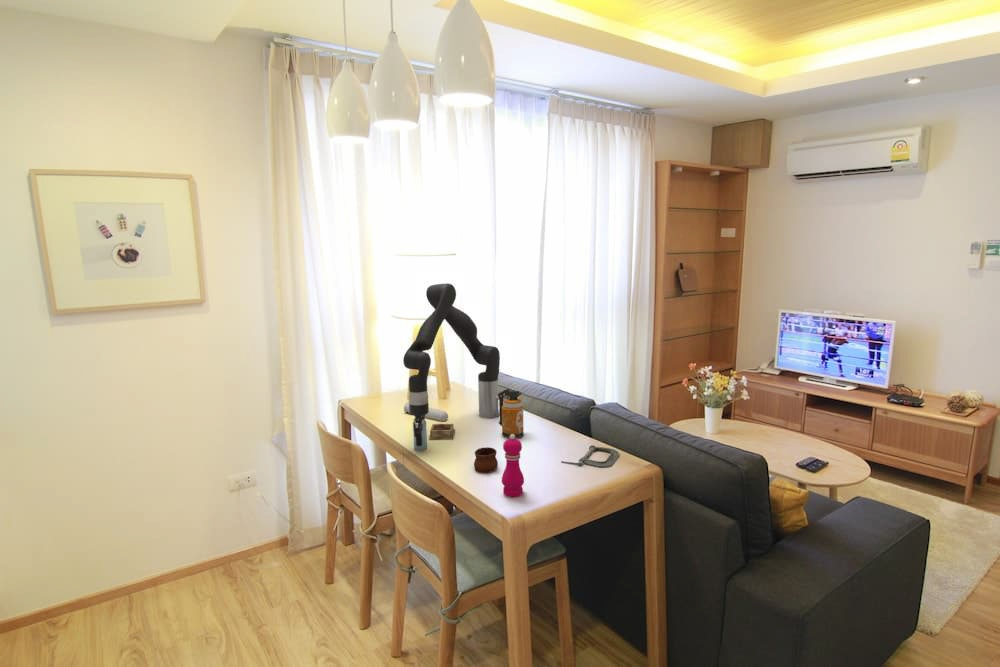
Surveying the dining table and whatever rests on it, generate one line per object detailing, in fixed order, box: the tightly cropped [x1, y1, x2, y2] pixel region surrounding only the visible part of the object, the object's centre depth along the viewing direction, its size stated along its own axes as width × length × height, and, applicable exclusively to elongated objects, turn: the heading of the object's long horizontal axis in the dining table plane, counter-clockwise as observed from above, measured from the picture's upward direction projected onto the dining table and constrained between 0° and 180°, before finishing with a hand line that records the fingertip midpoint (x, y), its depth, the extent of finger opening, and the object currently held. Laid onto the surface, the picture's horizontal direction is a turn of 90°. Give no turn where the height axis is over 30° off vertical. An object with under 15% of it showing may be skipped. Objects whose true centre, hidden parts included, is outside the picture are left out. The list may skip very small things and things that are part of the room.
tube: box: [403, 401, 449, 422], centre depth 258 cm, size 5×5×25 cm
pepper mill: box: [501, 434, 525, 498], centre depth 176 cm, size 7×7×20 cm
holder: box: [428, 423, 456, 441], centre depth 232 cm, size 10×10×4 cm
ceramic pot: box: [473, 446, 499, 474], centre depth 198 cm, size 18×18×7 cm
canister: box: [498, 388, 524, 439], centre depth 230 cm, size 9×11×20 cm
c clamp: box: [561, 444, 620, 469], centre depth 206 cm, size 20×17×3 cm
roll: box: [412, 420, 428, 452], centre depth 217 cm, size 5×5×11 cm
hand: (420, 442), depth 217 cm, fingers closed on roll, 5 cm apart
